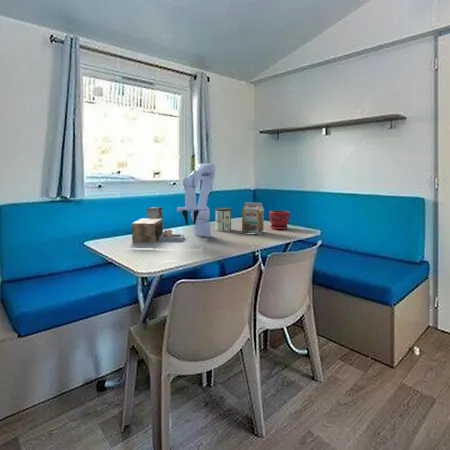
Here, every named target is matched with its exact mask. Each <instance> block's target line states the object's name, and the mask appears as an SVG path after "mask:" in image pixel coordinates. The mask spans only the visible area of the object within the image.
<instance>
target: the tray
mask: <svg viewBox="0 0 450 450" xmlns="http://www.w3.org/2000/svg"><path fill="white" fill-rule="evenodd" d="M184 239H185V234H184V233H172V237H164V233H163V234H162V235H161V236H158V242H182V241H183V240H184Z"/></svg>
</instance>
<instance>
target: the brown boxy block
mask: <svg viewBox="0 0 450 450" xmlns="http://www.w3.org/2000/svg"><path fill="white" fill-rule="evenodd" d="M163 220H164V218H163V219H154V218H147V217H146V218H145V217H144V218H143V217H142V218H139V219H138V220H135V221H134V222H132V223H131V235H132V238H131V239H132V240H131V242H132V243H151V244H152V243H154V244H155V243H157V240H156V238H157V237H160V236H161V235H162V234H164V223H163V222H164V221H163Z"/></svg>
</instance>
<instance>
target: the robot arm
mask: <svg viewBox="0 0 450 450" xmlns="http://www.w3.org/2000/svg"><path fill="white" fill-rule="evenodd" d="M215 175H216V165H215V164H214V162H213V163H202V162H199V163H197V166H196V170H193V171H192V172H191V173H190V174H189V175H188V176H185V177H184V178H183V181H182V185H183V191H184V201H185V202H184V204H185V205H184V206H177V208H176V211H177V212H181V213H182V216H183V218H184V220H185V225H186V226H188V225H189V219H188V218H189V217H188V216H189V212H191V213H190V217H191V221H192V223H193V229H194V230H193V232H194V233H193V234H194V236H195V237H205V238H210V237H211V221H209V220H210V214H211V213H210V212H211V210H210V208H209V206H207V205H208V204H207V203H208V198H209V194H210V193H209V192H210V188H211V183H212V180H214V178H215ZM200 180H201V181H202V182H201V188H200V192H199V198H198V201H197V188H198V184H199V181H200ZM197 202H198V203H197Z"/></svg>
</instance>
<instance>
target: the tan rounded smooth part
mask: <svg viewBox="0 0 450 450" xmlns="http://www.w3.org/2000/svg"><path fill="white" fill-rule="evenodd" d="M163 234H164V237H172V234H173V230H172V229H163Z"/></svg>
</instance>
